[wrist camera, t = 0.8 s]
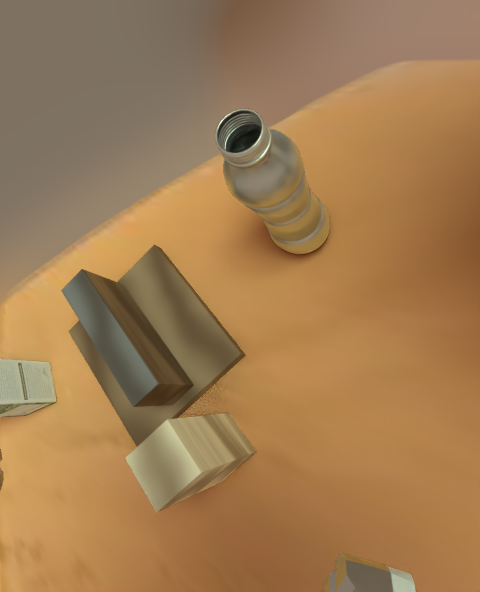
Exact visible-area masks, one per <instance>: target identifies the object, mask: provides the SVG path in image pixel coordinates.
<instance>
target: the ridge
mask: <svg viewBox="0 0 480 592" xmlns="http://www.w3.org/2000/svg"><path fill="white" fill-rule="evenodd" d="M61 291H62V293H63V294H64V296H65V297H66V299H67V301H68V302H69V304H70V305H71V307H72V309H73V310H74V312H75V314H76V315H77V317H78V318H79V321H78V322H77V323H76V324H75V325H74V326H73V327H72V328H71V329H70V330H69V333H70V334H71V336H72V338H73V340H74V341H75V343H76V345H77V346H78V348H79V350H80V351H81V353H82V355H83V356H84V358H85V360H86V361H87V363H88V365H89V366H90V368H91V370H92V372H93V373H94V375H95V377H96V378H97V380H98V382H99V383H100V385H101V387H102V388H103V390H104V392H105V393H106V395H107V397H108V399H109V400H110V402H111V404H112V405H113V407H114V409H115V410H116V412H117V414H118V415H119V417H120V419H121V420H122V422H123V424H124V426H125V427H126V429H127V431H128V432H129V434H130V436H131V437H132V439H133V441H134V442H135V444H136V446H137V447H138V446H139V445H140V444H141V443H142V442H143V441H144V440H145V439H146V438H148V437H149V436H150V435H151V434H152V433H153V432H154V431H155V430H156V429H157V428H158V427H159V426H161V425H162V424H163V423H164V422H165V421H166V420H167V419H175V418H178V417H179V416H180V415H181V414H182V413H183V412H184V411H186V410H187V409H188V408H189V407H190V406H191V405H192V404H193V403H194V402H195V401H196V400H197V399H199V398H200V397H201V396H202V395H203V394H204V393H205V392H206V391H207V390H208V389H209V388H210V387H212V386H213V385H214V384H215V383H216V382H217V381H218V380H219V379H220V378H221V377H222V376H223V375H225V374H226V373H227V372H228V371H229V370H230V369H231V368H232V367H233V366H234V365H235V364H236V363H238V362H239V361H240V360H241V359H242V358H243V357H244V356H245V354H244V352H243V351H242V350H241V349H240V347H239V346H238V345H237V344H236V342H235V341H234V340H233V339H232V337H231V336H230V335H229V333H228V332H227V331H226V330H225V328H224V327H223V326H222V325H221V323H220V322H219V321H218V320H217V318H216V317H215V316H214V315H213V313H212V312H211V311H210V310H209V308H208V307H207V306H206V305H205V303H204V302H203V301H202V299H201V298H200V297H199V296H198V294H197V293H196V292H195V291H194V289H193V288H192V287H191V286H190V284H189V283H188V282H187V281H186V279H185V278H184V277H183V276H182V274H181V273H180V272H179V271H178V269H177V268H176V267H175V265H174V264H173V263H172V262H171V260H170V259H169V258H168V257H167V255H166V254H165V253H164V252H163V250H162V249H161V248H159V247H158V246H156V245H154V246H153V247H152V248H151V249H150V250H149V251H148V252H147V253H146V254H145V255H144V256H143V257H142V258H141V259H140V260H139V261H138V262H137V263H136V264H135V265H134V266H133V267H132V268H131V269H130V270H129V271H128V272H127V273H126V274H125V275H124V276H123V277H122V278H121V279H120V280H119V281H118V282H115V281H112V280H109V279H107V278H104V277H101V276H99V275H96V274H94V273H91V272H88V271H86V270H83V269H82V270H81V271H80V272H79V273H78V274H77V275H76V276H75V277H74V278H73V279H72V280H71V281H70V282H69V283H68V284H67V285H66V286H65V287H64V288H63V289H62V290H61Z"/></svg>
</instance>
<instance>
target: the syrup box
mask: <svg viewBox="0 0 480 592" xmlns="http://www.w3.org/2000/svg"><path fill="white" fill-rule="evenodd" d="M55 402H56V392H55V386H54V381H53V375H52V370H51V365H50V362H41V361H28V360H14V359H0V417H11V416H25V415H28V414H30V413H32V412H34V411H37V410H39V409H41V408H44V407H46V406H48V405H50V404H53V403H55Z"/></svg>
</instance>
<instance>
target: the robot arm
mask: <svg viewBox="0 0 480 592" xmlns="http://www.w3.org/2000/svg"><path fill="white" fill-rule="evenodd" d="M1 460H2V453H1V449H0V461H1ZM3 480H4V478H3V471H2V470H1V468H0V490H1V488H2V484H3ZM323 592H416V589H415V584H414V580H413V578H412V576H411V574H410V573H408V572H405V571H402V570H398V569H395V568H391V567H387V566H386V565H384V564H380V563H377V562H373V561H370V560H366V559H363V558H359V557H356V556H352V555H349V554H345V553H342V554H340V555H339V556H338V558H337V560H336V571H333V572H331V573H329V575H328V577H327V579H326V582H325V585H324V590H323Z"/></svg>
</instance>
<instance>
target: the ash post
mask: <svg viewBox="0 0 480 592" xmlns="http://www.w3.org/2000/svg"><path fill="white" fill-rule="evenodd" d="M255 452H257V451H256V450H255V449H254V447H253V446H252V444H251V443H250V442H249V440H248V439H247V438H246V436H245V435H244V433H243V432H242V431H241V429H240V428H239V426H238V425H237V424H236V422H235V421H234V420H233V418H232V417H231V415H230V414H229V413H222V414H213V415H203V416H194V417H185V418H175V419H167V420H166V421H165V422H164V423H163V424H162V425H161V426H159V427H158V428H157V429H156V430H155V431H154V432H153V433H152V434H151V435H150V436H149V437H148V438H146V439H145V440H144V441H143V442H142V443H141V444H140V445H139V446H138V447H137V448H136V449H135V450H134V451H132V452H131V453H130V454H129V455H128V456H127V457H126V458H125V459H126V461H127V463H128V464H129V466H130V468H131V470H132V471H133V473H134V475H135V477H136V478H137V480H138V482H139V484H140V485H141V487H142V489H143V491H144V492H145V494H146V496H147V498H148V499H149V501H150V503H151V505H152V506H153V508H154V510H155V512H156V513H157V512H159V511H161V510H163V509H165V508H167V507H170V506H172V505H174V504H176V503H178V502H180V501H182V500H184V499H187V498H189V497H191V496H193V495H195V494H197V493H199V492H201V491H203V490H206V489H208V488H210V487H212V486H214V485H216V484H218V483H220V482H222V481H224V480H225V479H226V478H227V477H228V476H229V475H230V474H232V473H233V472H234V471H235V470H236V469H237V468H238V467H240V466H241V465H242V464H243V463H244V462H245V461H246V460H247V459H249V458H250V457H251V456H252V455H253V454H254V453H255Z"/></svg>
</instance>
